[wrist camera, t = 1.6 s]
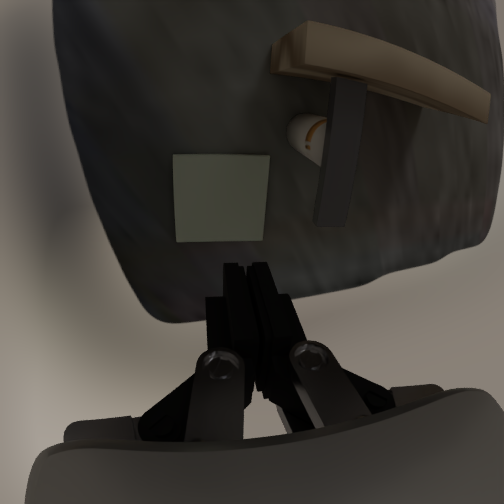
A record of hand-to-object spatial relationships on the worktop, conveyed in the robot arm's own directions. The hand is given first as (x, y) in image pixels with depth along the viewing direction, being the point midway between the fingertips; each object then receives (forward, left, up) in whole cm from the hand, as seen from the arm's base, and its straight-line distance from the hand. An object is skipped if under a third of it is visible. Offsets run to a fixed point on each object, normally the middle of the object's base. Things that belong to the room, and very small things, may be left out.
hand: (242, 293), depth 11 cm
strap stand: (-11, +13, -18) cm, 25 cm away
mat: (+3, 0, -18) cm, 18 cm away
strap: (-4, +8, -11) cm, 14 cm away
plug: (-4, +8, -18) cm, 20 cm away
